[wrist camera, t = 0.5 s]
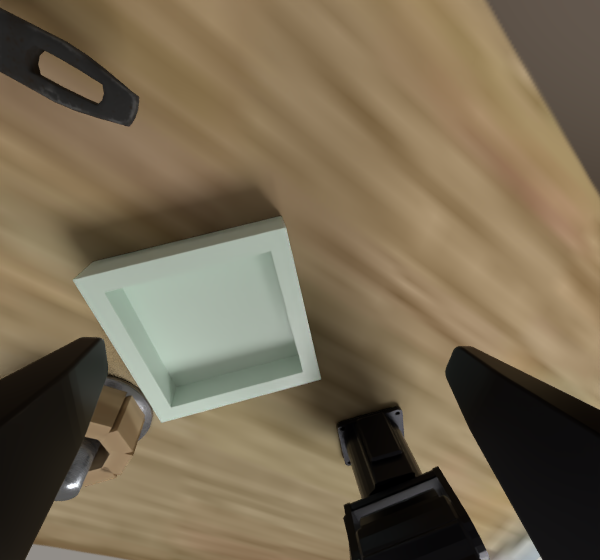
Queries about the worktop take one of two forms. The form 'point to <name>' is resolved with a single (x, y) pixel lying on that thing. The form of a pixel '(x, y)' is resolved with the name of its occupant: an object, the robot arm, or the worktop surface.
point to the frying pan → (34, 41)
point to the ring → (113, 434)
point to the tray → (206, 317)
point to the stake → (91, 445)
